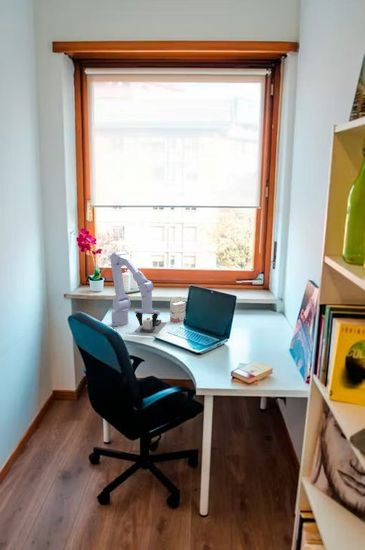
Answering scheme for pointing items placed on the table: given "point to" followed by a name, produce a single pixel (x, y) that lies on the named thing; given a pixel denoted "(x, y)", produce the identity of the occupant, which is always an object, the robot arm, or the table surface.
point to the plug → (147, 324)
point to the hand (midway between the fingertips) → (147, 326)
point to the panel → (154, 330)
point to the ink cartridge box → (177, 309)
